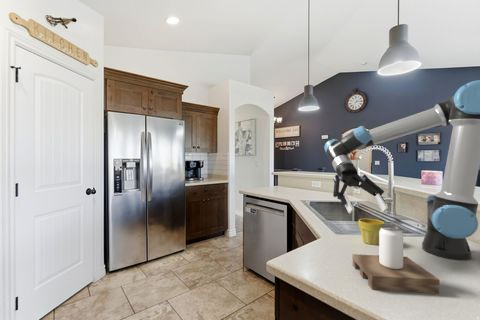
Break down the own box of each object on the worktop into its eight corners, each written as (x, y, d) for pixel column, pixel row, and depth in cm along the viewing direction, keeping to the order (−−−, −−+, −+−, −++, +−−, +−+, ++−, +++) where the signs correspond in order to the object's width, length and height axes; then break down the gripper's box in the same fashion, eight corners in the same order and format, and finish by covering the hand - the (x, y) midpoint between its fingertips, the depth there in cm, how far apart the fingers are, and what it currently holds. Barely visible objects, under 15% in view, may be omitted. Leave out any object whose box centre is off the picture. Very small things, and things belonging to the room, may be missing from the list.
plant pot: (377, 238, 113) (377, 218, 113) (389, 246, 103) (389, 224, 103) (355, 238, 114) (355, 218, 114) (364, 246, 104) (364, 223, 104)
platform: (406, 268, 82) (406, 256, 82) (439, 293, 67) (439, 279, 67) (352, 265, 85) (352, 254, 85) (372, 289, 69) (372, 275, 69)
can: (391, 271, 72) (391, 231, 72) (374, 262, 78) (374, 225, 78) (408, 268, 73) (408, 229, 73) (390, 260, 80) (390, 224, 80)
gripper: (366, 173, 105) (393, 215, 90) (314, 174, 102) (332, 217, 87) (375, 161, 100) (405, 203, 85) (319, 162, 96) (340, 205, 82)
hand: (368, 210), depth 86 cm, fingers open, 13 cm apart
